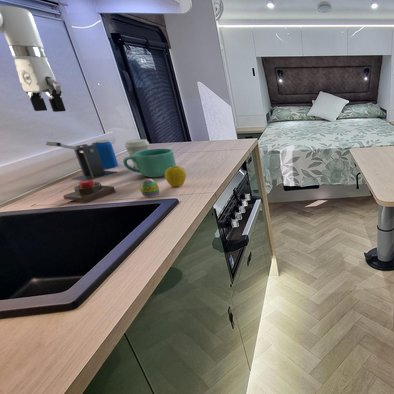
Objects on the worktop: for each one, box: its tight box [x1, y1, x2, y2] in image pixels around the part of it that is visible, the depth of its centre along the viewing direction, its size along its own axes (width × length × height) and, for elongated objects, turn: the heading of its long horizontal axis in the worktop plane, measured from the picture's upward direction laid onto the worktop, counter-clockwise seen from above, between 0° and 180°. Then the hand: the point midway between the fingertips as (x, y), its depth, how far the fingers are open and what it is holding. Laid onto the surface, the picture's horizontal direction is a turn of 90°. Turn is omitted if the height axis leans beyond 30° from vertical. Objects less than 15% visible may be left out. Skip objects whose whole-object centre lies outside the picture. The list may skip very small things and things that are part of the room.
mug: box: [122, 148, 177, 179], centre depth 113 cm, size 17×13×10 cm
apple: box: [164, 165, 187, 187], centre depth 102 cm, size 6×6×8 cm
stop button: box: [78, 179, 95, 188], centre depth 93 cm, size 4×4×2 cm
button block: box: [62, 181, 117, 205], centre depth 94 cm, size 10×8×4 cm
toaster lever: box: [45, 141, 83, 153], centre depth 105 cm, size 12×5×2 cm, turn 166°
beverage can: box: [91, 139, 119, 170], centre depth 123 cm, size 6×6×12 cm
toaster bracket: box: [70, 143, 118, 181], centre depth 111 cm, size 11×9×13 cm
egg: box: [139, 178, 160, 199], centre depth 93 cm, size 5×5×6 cm
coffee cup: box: [124, 138, 150, 169], centre depth 123 cm, size 9×8×12 cm
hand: (50, 111), depth 96 cm, fingers open, 9 cm apart
